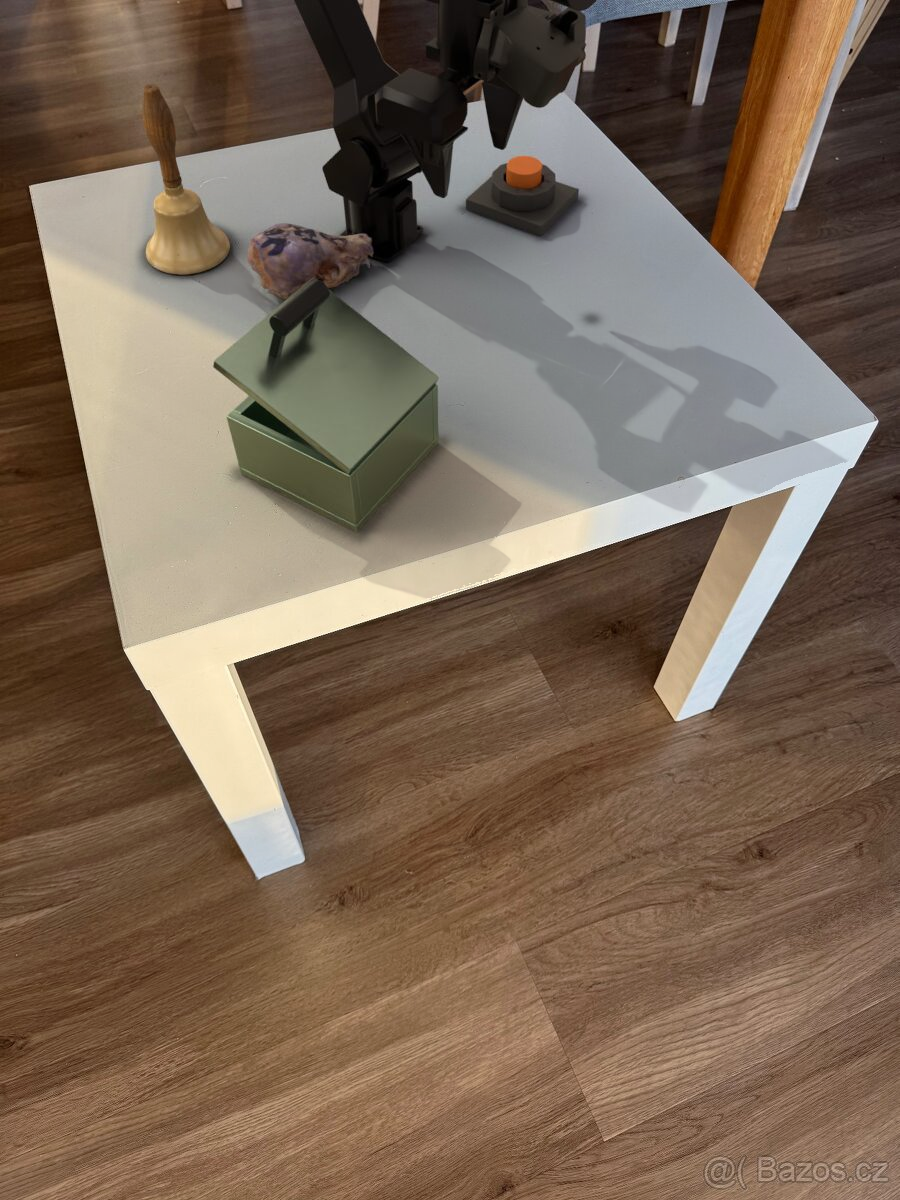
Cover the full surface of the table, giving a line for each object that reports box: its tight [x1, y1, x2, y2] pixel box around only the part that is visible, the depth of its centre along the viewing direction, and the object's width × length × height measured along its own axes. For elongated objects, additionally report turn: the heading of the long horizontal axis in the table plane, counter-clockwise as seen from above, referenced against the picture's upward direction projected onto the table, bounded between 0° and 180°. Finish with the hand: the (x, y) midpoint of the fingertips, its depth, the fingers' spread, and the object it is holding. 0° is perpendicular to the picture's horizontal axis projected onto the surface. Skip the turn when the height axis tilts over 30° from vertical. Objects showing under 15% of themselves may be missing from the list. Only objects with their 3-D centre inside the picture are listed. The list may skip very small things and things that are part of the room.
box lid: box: [212, 277, 440, 474], centre depth 69 cm, size 12×12×5 cm
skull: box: [247, 222, 374, 300], centre depth 90 cm, size 12×8×6 cm, turn 105°
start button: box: [506, 155, 543, 189], centre depth 97 cm, size 4×4×2 cm
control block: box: [465, 162, 580, 237], centre depth 98 cm, size 9×8×3 cm
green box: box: [226, 383, 439, 533], centre depth 75 cm, size 12×12×6 cm
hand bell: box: [142, 83, 231, 276], centre depth 88 cm, size 8×8×16 cm
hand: (470, 171), depth 82 cm, fingers open, 9 cm apart
